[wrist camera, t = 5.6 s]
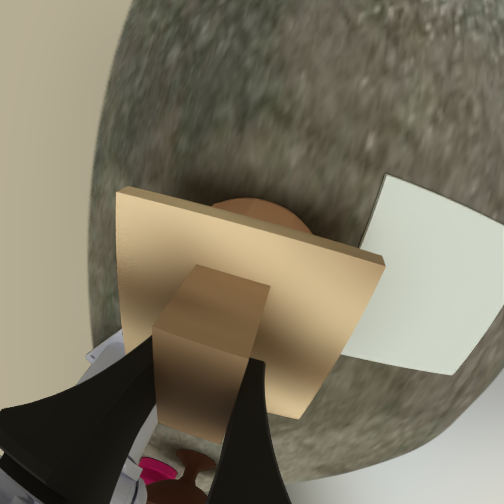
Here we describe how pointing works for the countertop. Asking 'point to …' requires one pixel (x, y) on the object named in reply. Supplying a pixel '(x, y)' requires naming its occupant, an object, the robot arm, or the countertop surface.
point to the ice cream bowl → (181, 482)
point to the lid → (233, 305)
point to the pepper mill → (155, 470)
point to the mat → (428, 280)
